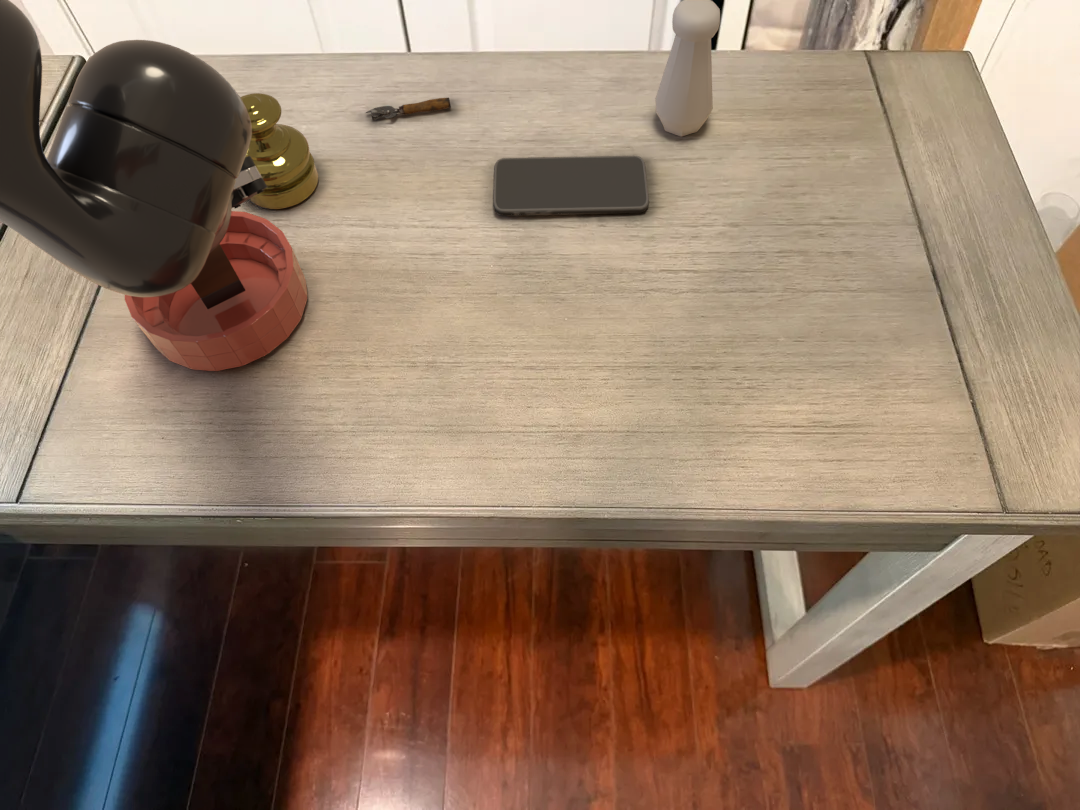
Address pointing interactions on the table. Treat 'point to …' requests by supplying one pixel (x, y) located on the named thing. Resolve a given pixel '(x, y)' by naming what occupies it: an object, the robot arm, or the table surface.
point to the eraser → (217, 280)
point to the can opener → (412, 108)
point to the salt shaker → (688, 68)
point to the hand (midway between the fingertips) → (178, 219)
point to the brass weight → (278, 155)
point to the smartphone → (570, 185)
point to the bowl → (231, 303)
